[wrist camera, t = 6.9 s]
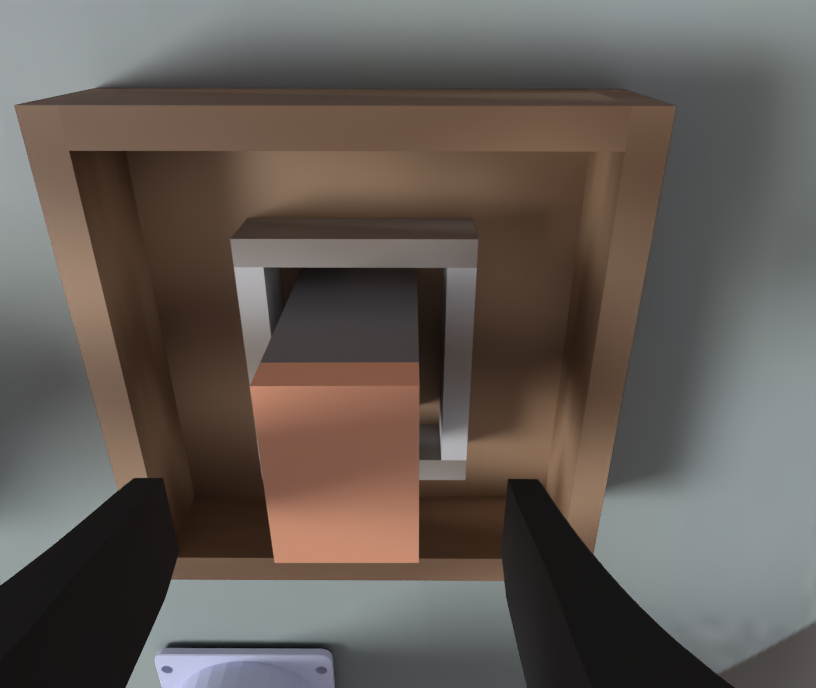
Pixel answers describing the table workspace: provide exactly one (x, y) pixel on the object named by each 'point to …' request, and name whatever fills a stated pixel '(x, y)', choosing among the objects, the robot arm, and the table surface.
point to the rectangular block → (342, 418)
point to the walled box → (355, 248)
